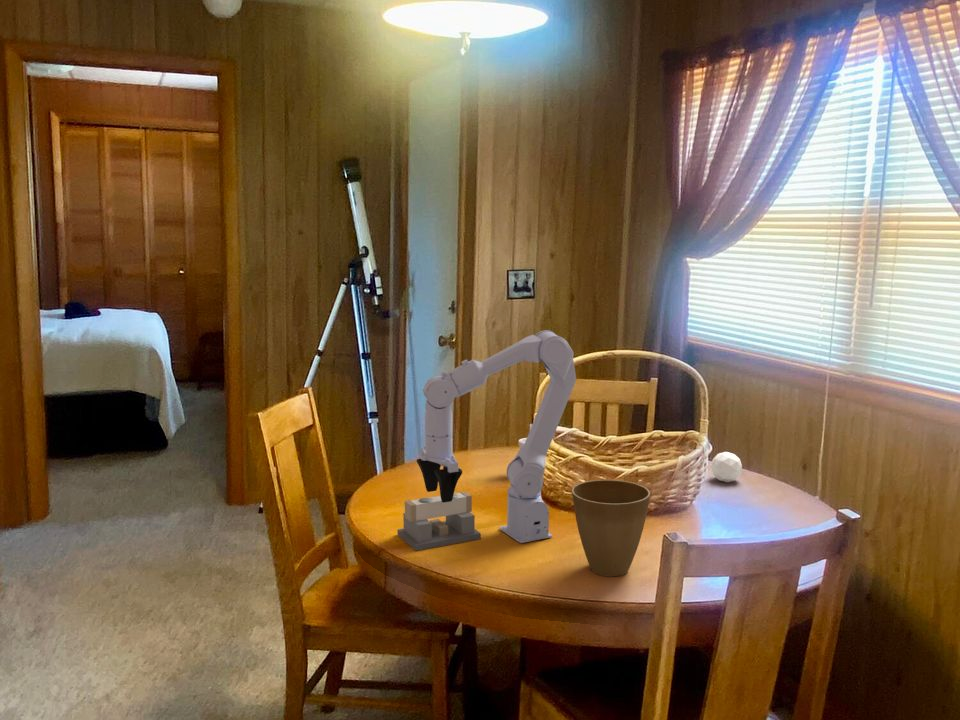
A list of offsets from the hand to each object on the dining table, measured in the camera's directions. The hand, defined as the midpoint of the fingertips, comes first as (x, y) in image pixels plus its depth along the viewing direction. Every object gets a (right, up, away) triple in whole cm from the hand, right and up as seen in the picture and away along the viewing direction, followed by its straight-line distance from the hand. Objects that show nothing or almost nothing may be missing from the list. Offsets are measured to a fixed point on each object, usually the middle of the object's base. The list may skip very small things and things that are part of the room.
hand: (439, 496), depth 181 cm
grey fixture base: (0, -9, +2) cm, 9 cm away
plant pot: (+34, -12, -14) cm, 39 cm away
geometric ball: (+73, -3, +42) cm, 84 cm away
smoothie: (+22, -2, +44) cm, 49 cm away
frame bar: (0, -4, +1) cm, 4 cm away
